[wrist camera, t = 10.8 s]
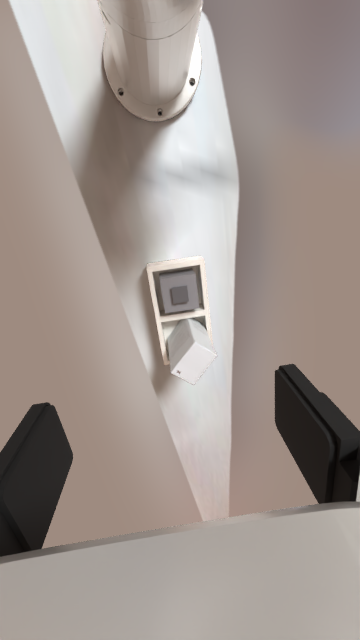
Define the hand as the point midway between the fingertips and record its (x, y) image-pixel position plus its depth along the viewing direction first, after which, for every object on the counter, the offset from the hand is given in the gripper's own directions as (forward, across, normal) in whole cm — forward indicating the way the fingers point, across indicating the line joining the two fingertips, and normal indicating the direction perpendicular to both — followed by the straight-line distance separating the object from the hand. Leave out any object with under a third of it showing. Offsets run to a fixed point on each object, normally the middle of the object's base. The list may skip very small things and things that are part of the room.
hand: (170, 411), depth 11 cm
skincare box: (+36, -2, +12) cm, 38 cm away
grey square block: (+36, -2, +4) cm, 37 cm away
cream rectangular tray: (+36, -2, +8) cm, 37 cm away
